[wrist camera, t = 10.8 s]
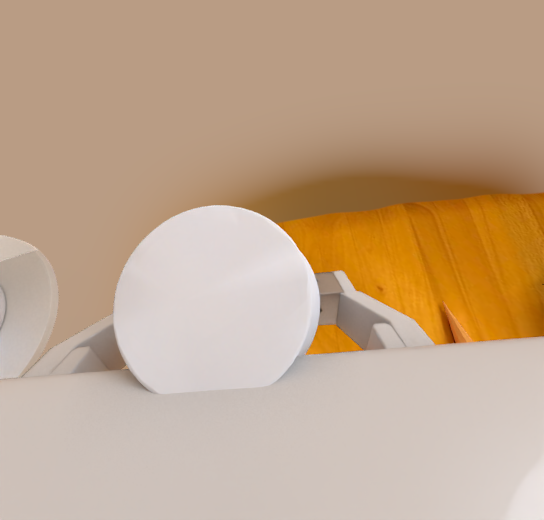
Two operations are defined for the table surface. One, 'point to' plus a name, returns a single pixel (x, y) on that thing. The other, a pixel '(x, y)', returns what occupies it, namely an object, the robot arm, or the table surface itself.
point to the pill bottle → (214, 303)
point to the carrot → (457, 328)
